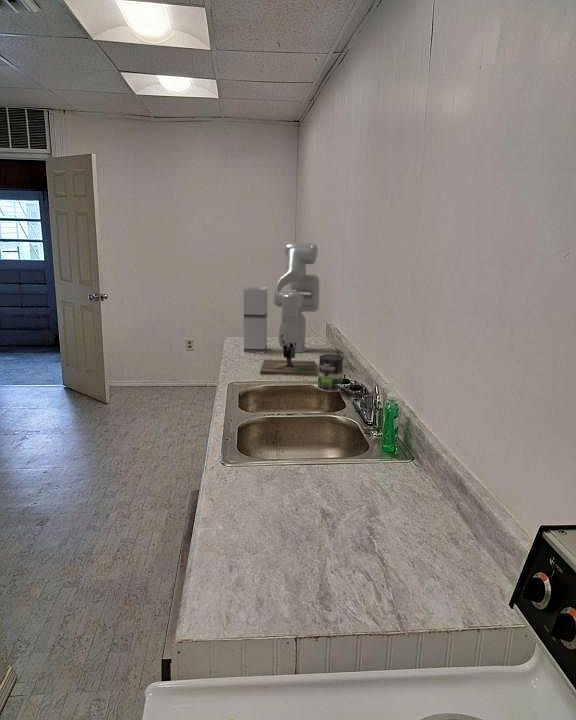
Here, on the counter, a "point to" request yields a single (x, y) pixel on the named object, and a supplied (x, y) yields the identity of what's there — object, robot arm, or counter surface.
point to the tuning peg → (288, 361)
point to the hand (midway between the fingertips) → (288, 356)
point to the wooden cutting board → (289, 367)
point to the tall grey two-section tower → (255, 319)
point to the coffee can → (330, 372)
